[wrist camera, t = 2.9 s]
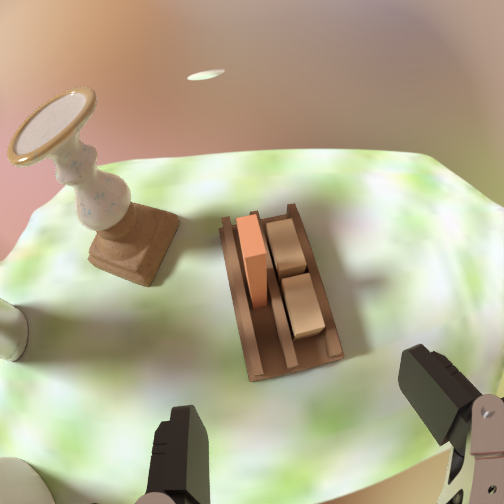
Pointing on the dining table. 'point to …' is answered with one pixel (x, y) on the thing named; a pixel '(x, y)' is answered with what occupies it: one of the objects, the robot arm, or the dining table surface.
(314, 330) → the offcut block
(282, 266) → the offcut block
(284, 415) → the dining table surface
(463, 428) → the robot arm
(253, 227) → the slat
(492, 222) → the dining table surface
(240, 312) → the rack
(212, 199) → the dining table surface
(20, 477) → the utensil holder
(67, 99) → the candle holder
